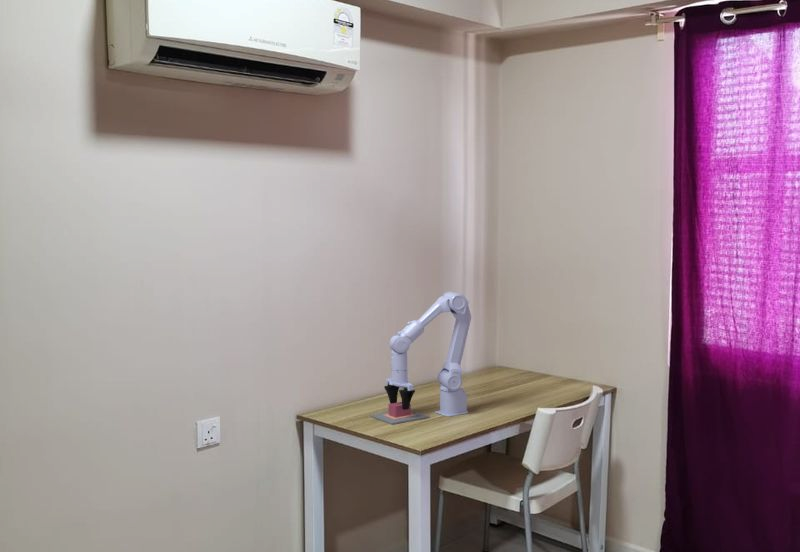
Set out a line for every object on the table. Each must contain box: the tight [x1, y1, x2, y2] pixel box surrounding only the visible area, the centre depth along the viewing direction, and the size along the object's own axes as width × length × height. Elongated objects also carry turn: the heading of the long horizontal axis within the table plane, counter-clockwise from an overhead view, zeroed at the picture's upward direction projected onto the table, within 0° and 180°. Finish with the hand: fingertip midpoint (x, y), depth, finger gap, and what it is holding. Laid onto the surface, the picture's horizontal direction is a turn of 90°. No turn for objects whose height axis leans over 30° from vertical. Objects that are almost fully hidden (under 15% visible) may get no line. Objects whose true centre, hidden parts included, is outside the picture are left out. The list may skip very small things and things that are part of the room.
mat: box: [369, 409, 430, 426], centre depth 285 cm, size 16×14×1 cm
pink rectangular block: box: [387, 401, 412, 418], centre depth 285 cm, size 4×6×4 cm
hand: (399, 407), depth 285 cm, fingers open, 7 cm apart
